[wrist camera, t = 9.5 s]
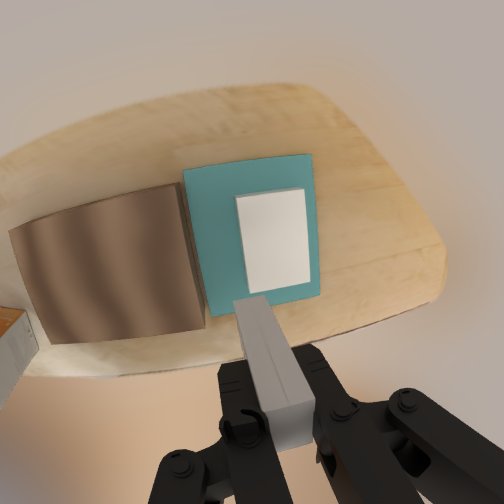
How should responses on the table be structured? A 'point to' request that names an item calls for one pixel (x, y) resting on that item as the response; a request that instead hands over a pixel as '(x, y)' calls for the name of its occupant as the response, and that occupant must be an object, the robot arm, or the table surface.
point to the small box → (14, 349)
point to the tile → (273, 238)
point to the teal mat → (227, 231)
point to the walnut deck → (112, 268)
